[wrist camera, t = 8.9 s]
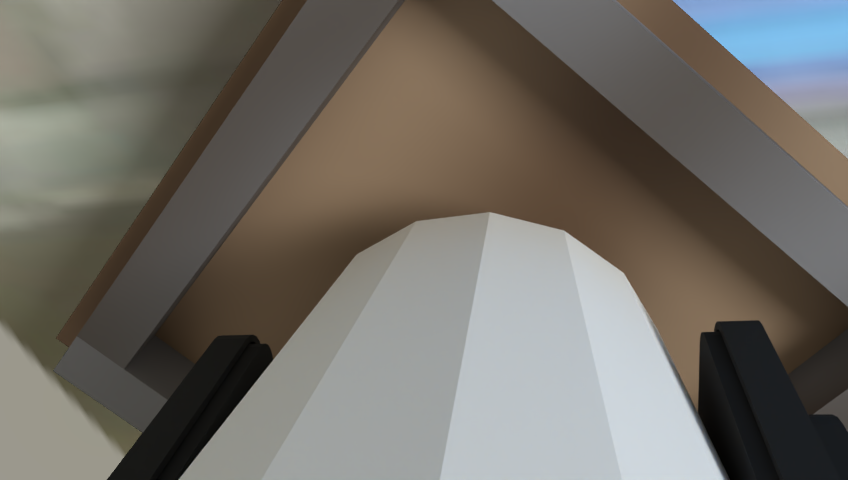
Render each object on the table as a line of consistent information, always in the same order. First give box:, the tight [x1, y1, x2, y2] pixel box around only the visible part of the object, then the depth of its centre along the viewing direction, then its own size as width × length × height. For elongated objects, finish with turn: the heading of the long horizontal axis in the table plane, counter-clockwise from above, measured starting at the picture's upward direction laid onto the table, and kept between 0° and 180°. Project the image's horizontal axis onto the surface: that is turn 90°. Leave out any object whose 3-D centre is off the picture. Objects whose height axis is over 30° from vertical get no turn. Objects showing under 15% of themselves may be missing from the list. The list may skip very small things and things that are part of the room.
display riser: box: [53, 0, 848, 433], centre depth 16 cm, size 12×12×7 cm
